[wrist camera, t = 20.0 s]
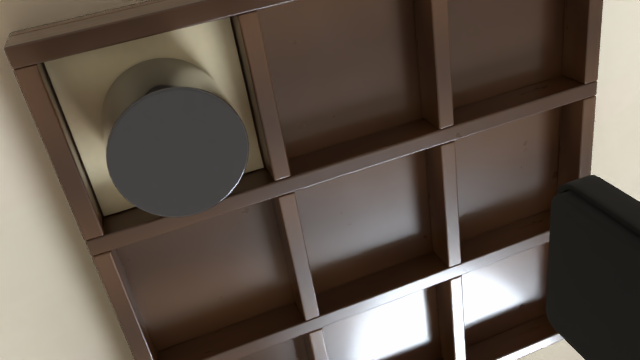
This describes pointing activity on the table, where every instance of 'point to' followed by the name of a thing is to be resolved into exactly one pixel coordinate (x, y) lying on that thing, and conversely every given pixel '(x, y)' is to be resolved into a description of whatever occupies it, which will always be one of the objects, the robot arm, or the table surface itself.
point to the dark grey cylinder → (172, 138)
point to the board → (335, 172)
